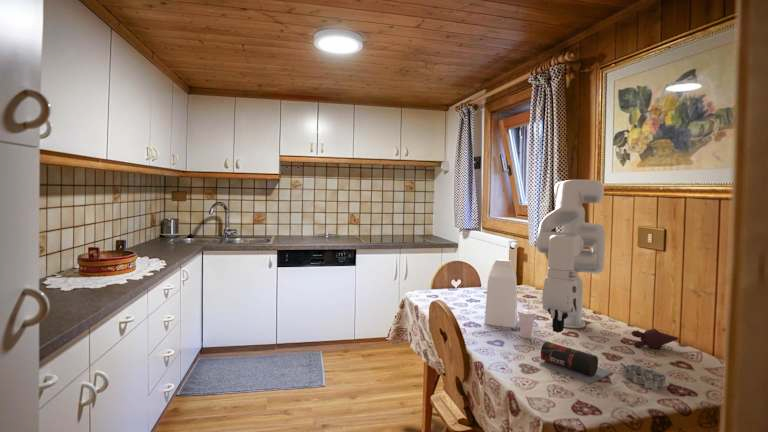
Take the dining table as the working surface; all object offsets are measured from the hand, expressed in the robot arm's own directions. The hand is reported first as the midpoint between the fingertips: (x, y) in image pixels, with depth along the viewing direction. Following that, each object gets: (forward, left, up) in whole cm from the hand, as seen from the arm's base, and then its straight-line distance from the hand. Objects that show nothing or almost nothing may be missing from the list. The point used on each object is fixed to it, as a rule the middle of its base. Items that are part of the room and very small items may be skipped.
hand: (557, 331), depth 130 cm
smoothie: (-12, -20, -10) cm, 25 cm away
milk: (-19, -37, -10) cm, 43 cm away
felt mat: (-1, +6, -10) cm, 12 cm away
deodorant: (+2, -3, -7) cm, 8 cm away
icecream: (-42, +12, -10) cm, 45 cm away
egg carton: (-10, +21, -11) cm, 26 cm away
